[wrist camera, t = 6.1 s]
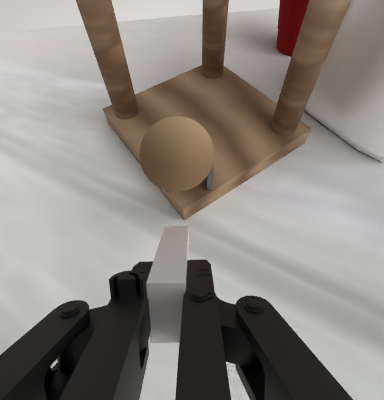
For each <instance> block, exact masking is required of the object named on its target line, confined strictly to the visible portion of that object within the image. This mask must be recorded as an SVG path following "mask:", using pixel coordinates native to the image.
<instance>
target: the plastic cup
mask: <svg viewBox="0 0 384 400" xmlns="http://www.w3.org/2000/svg"><path fill="white" fill-rule="evenodd" d="M308 3H309V0H280V7H279V19H278V36H277V49H278V50H279V51H280V52H281V53H283V54H285V55H288V56H292V55H293V51H294V48H295V45H296V42H297V39H298V35H299V32H300V29H301V26H302V22H303V19H304V16H305V13H306V10H307V6H308Z"/></svg>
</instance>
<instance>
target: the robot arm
mask: <svg viewBox="0 0 384 400" xmlns="http://www.w3.org/2000/svg"><path fill="white" fill-rule="evenodd" d="M109 284H110V293H111V300H110V302H109V303H108V305H106V306H102V307H99V308H94V309H90V310H89V305H88V304H87V302H84V301H81V300H75V301H69V302H67V303H64V304H62V305H60V306H58V307H57V308H55V309H54V310H53V311H52V312H51V313H49V314H48V315H47V316H46V317H45V318H44V319H42V320H41V321H40V322H39V323H38V324H36V325H35V326H34V327H33V328H32V329H31V330H29V331H28V332H27V333H26V334H25V335H23V336H22V337H21V338H20V339H19V340H18V341H16V342H15V343H14V344H13V345H12V346H10V347H9V348H8V349H7V350H6V351H5V352H3V353H2V354H1V355H0V400H139V398H140V393H141V388H142V384H143V379H144V374H145V369H146V364H147V359H148V355H149V347H148V340H149V336H150V339H151V343H162V342H180V345H179V359H178V372H177V386H176V400H231V396H230V389H229V382H228V375H227V367H226V362H230V363H233V364H235V366H236V370H237V372H238V374H239V377H240V379H241V381H242V383H243V385H244V387H245V390H246V392H247V394H248V396H249V398H250V400H353V399H352V398H351V397H350V396H349V394H348V393H347V392H346V391H345V390H344V389H343V387H342V386H341V385H340V384H339V383H338V382H337V381H336V379H335V378H334V377H333V376H332V375H331V374H330V372H329V371H328V370H327V369H326V368H325V367H324V365H323V364H322V363H321V362H320V361H319V360H318V358H317V357H316V356H315V355H314V354H313V353H312V351H311V350H310V349H309V348H308V347H307V346H306V344H305V343H304V342H303V341H302V340H301V339H300V337H299V336H298V335H297V334H296V333H295V332H294V330H293V329H292V328H291V327H290V326H289V325H288V323H287V322H286V321H285V320H284V319H283V318H282V317H281V315H280V314H279V313H278V312H277V311H276V310H275V308H274V307H273V306H272V305H271V304H270V303H269V302H268V301H267V300H265V299H263V298H261V297H257V296H245V297H242V298H240V299H239V300H238V301H237V302H236V305H235V304H230V303H227V302H224V301H222V300H220V299H219V298H218V297H217V296H216V294H215V292H214V285H213V278H212V271H211V264H210V263H209V262H208V261H207V260H189V233H188V226H182V227H165V228H164V231H163V234H162V237H161V240H160V243H159V246H158V249H157V252H156V255H155V258H154V261H153V262H139V263H138V264H136V265H135V266H134V267H133V269H132V271H124V272H120V273H117V274H115V275H114V276H112V277H111V278H110V279H109ZM56 359H57V361H58V363H57V364H56V365H55V366H54V367H53V368H50V366H51V365H52V363H53V362H54V361H55V360H56Z"/></svg>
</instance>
